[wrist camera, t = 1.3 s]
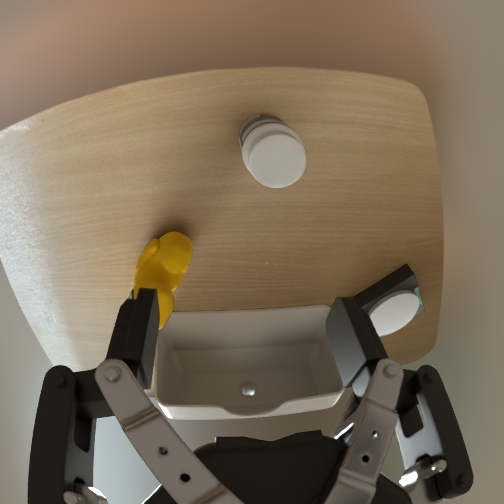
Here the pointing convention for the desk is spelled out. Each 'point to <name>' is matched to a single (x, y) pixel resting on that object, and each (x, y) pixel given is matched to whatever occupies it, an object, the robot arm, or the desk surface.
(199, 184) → the desk surface
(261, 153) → the pill bottle
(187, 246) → the duckling
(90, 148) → the desk surface
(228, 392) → the tank
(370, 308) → the scale
